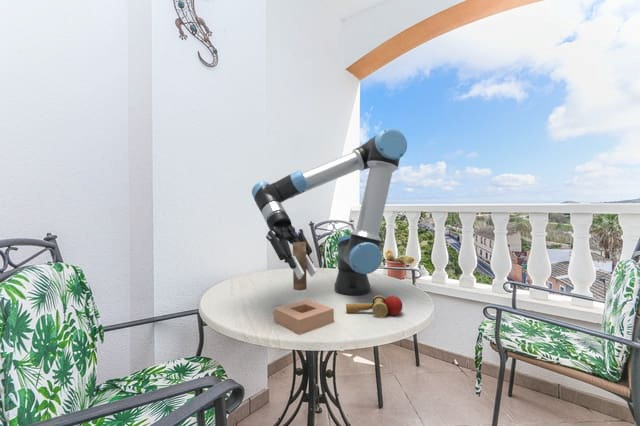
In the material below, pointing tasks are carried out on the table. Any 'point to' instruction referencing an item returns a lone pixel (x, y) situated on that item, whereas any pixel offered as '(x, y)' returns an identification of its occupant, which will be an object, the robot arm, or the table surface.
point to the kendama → (378, 306)
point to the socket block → (303, 316)
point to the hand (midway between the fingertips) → (307, 275)
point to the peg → (300, 255)
